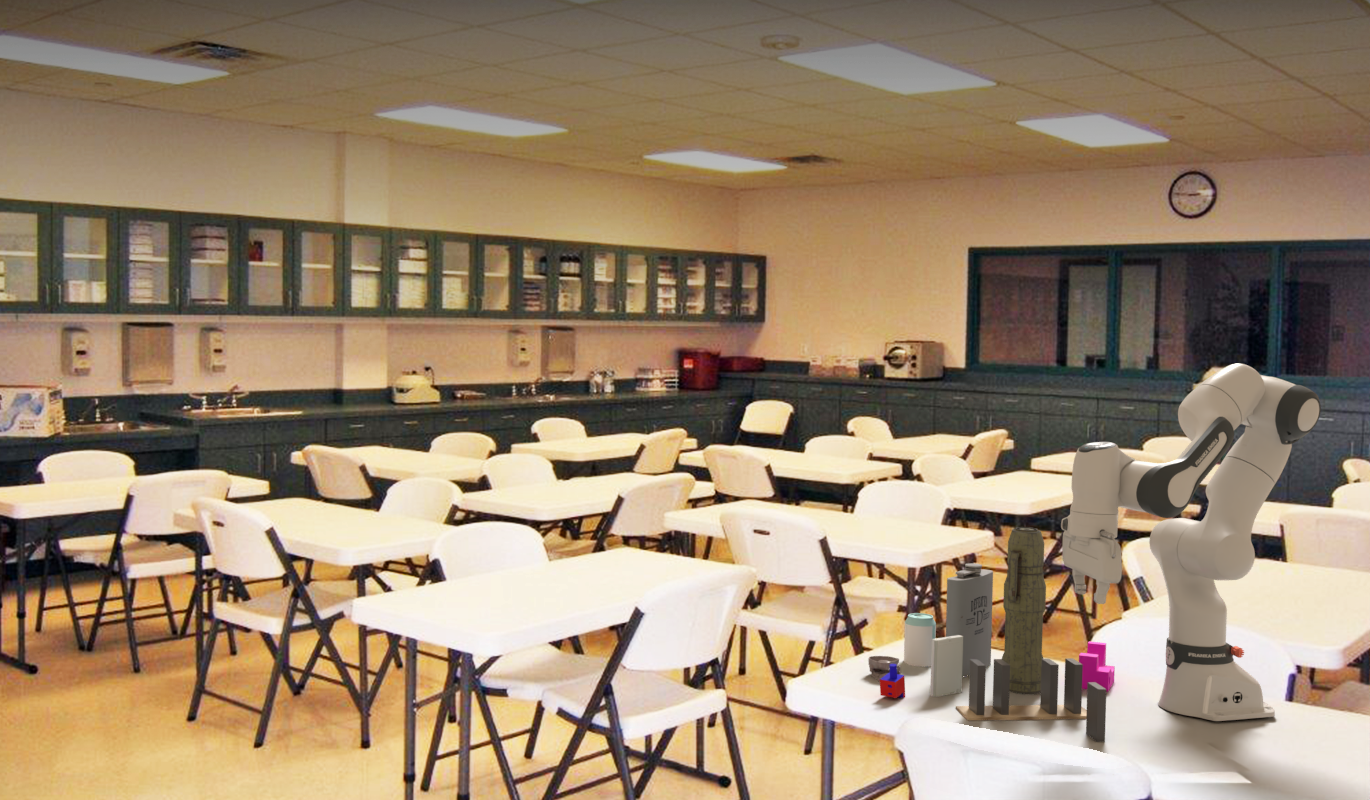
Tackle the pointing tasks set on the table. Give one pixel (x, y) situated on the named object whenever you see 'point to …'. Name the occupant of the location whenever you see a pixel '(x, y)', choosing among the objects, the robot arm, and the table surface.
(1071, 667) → the tile
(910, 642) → the can
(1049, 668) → the tile
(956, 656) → the external hard drive
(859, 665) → the table surface
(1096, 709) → the tile
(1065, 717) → the oak board
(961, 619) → the flask
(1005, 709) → the tile
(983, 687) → the tile
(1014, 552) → the thermos
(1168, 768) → the table surface
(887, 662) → the dental mold
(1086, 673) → the toy block
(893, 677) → the toy building block
